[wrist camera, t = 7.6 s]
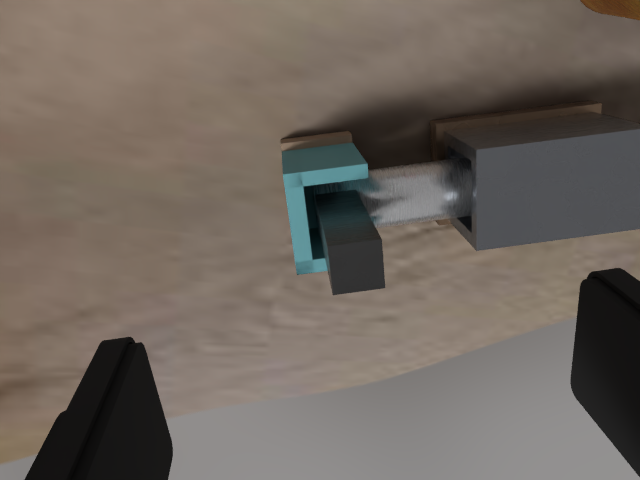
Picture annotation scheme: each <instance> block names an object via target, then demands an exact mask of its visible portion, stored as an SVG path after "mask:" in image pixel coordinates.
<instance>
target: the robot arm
mask: <svg viewBox="0 0 640 480" xmlns="http://www.w3.org/2000/svg"><path fill="white" fill-rule="evenodd" d="M571 388H572V391H573V393H574V396H575V397H576V399H577V400H578V401H579V403H580V404H581V405H582V406H583V407H584V409H585V410H586V411H587V412H588V414H589V415H590V416H591V417H592V419H593V420H594V421H595V422H596V423H597V425H598V426H599V427H600V428H601V430H602V431H603V432H604V433H605V435H606V436H607V437H608V438H609V439H610V441H611V442H612V443H613V445H614V446H615V447H616V448H617V449H618V451H619V452H620V453H621V454H622V456H623V457H624V458H625V459H626V460H627V462H628V463H629V464H630V466H631V467H632V468H633V469H634V471H636V473H637V474H638V476H639V477H640V281H638V280H637V279H636V278H634V277H633V276H631V275H630V274H629V273H627V272H626V271H624V270H623V269H621V268H615V269H608V270H601V271H594V272H591V273H590V274H589V275H588V277H587V279H585V280H583V281H582V283H581V286H580V293H579V303H578V313H577V323H576V332H575V342H574V351H573V362H572V371H571ZM172 456H173V447H172V441H171V437H170V433H169V430H168V426H167V423H166V419H165V416H164V412H163V409H162V405H161V402H160V399H159V395H158V392H157V388H156V385H155V381H154V378H153V374H152V371H151V367H150V364H149V360H148V357H147V353H146V350H145V347H144V345H143V343H141V342H140V343H135V341H134V340H133V338H131V337H126V338H118V339H111V340H104V341H102V342H101V343H100V345H99V347H98V349H97V351H96V353H95V355H94V357H93V359H92V361H91V362H90V364H89V366H88V368H87V370H86V372H85V374H84V376H83V378H82V380H81V382H80V384H79V386H78V388H77V390H76V392H75V394H74V396H73V398H72V400H71V402H70V404H69V406H68V408H67V410H66V411H64V412H62V413H60V415H59V416H58V417H57V419H56V420H55V422H54V424H53V426H52V428H51V430H50V432H49V434H48V436H47V438H46V440H45V441H44V443H43V445H42V447H41V449H40V451H39V453H38V455H37V457H36V459H35V461H34V463H33V464H32V467H31V468H30V470H29V472H28V474H27V476H26V478H25V480H168V476H169V472H170V467H171V462H172Z"/></svg>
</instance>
